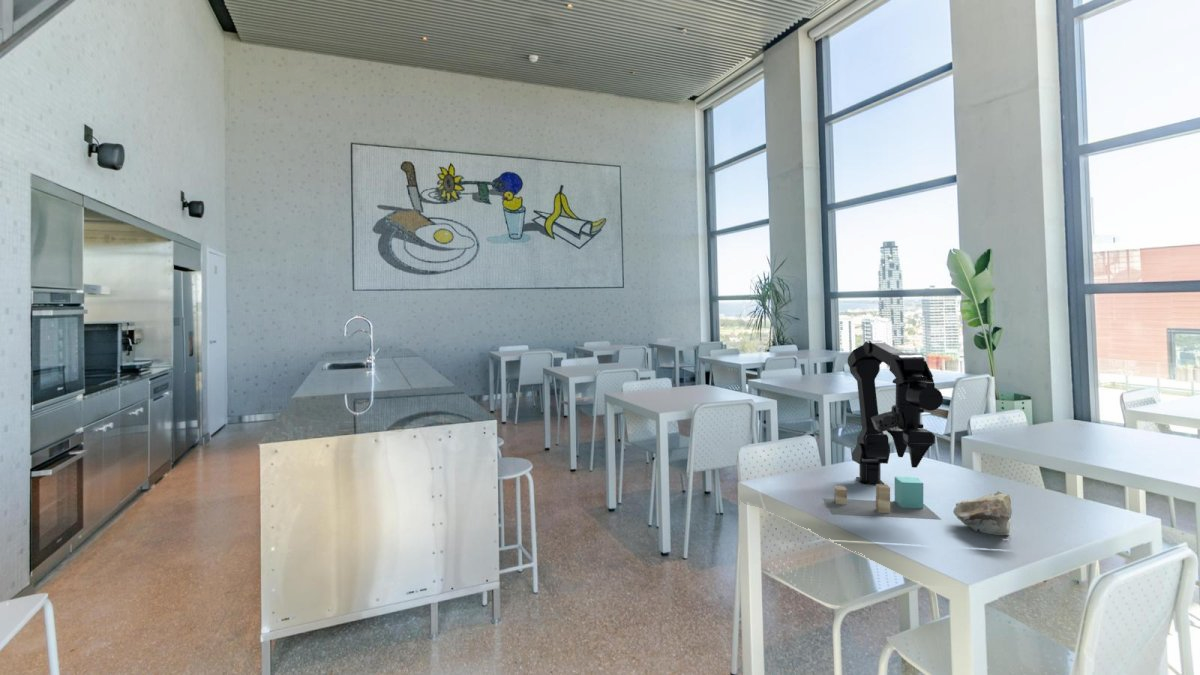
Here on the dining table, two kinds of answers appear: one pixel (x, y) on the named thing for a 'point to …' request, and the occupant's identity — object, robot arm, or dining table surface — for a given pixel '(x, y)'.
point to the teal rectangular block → (908, 492)
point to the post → (882, 498)
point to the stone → (986, 513)
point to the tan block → (840, 495)
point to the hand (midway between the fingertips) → (907, 462)
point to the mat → (870, 510)
